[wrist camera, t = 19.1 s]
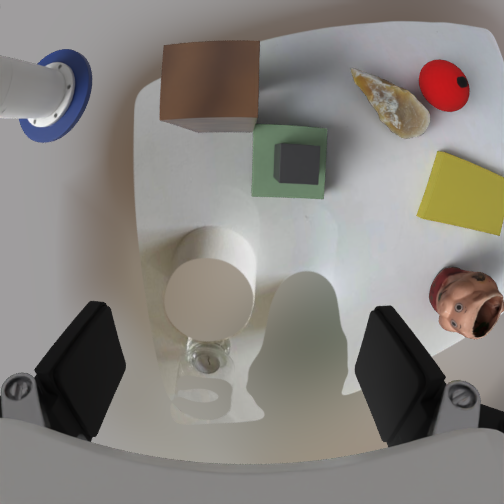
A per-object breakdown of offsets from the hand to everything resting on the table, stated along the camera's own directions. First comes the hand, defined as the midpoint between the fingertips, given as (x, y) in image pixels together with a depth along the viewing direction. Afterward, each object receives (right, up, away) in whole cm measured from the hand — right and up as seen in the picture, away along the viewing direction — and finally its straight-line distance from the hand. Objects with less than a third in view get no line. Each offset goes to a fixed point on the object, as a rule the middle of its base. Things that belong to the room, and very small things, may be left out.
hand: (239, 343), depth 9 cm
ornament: (+31, +31, +26) cm, 51 cm away
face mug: (+42, -4, +39) cm, 57 cm away
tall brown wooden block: (-3, +24, +28) cm, 37 cm away
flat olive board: (+41, +14, +32) cm, 54 cm away
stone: (+21, +27, +27) cm, 43 cm away
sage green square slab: (+5, +17, +31) cm, 35 cm away
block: (+6, +15, +27) cm, 32 cm away
